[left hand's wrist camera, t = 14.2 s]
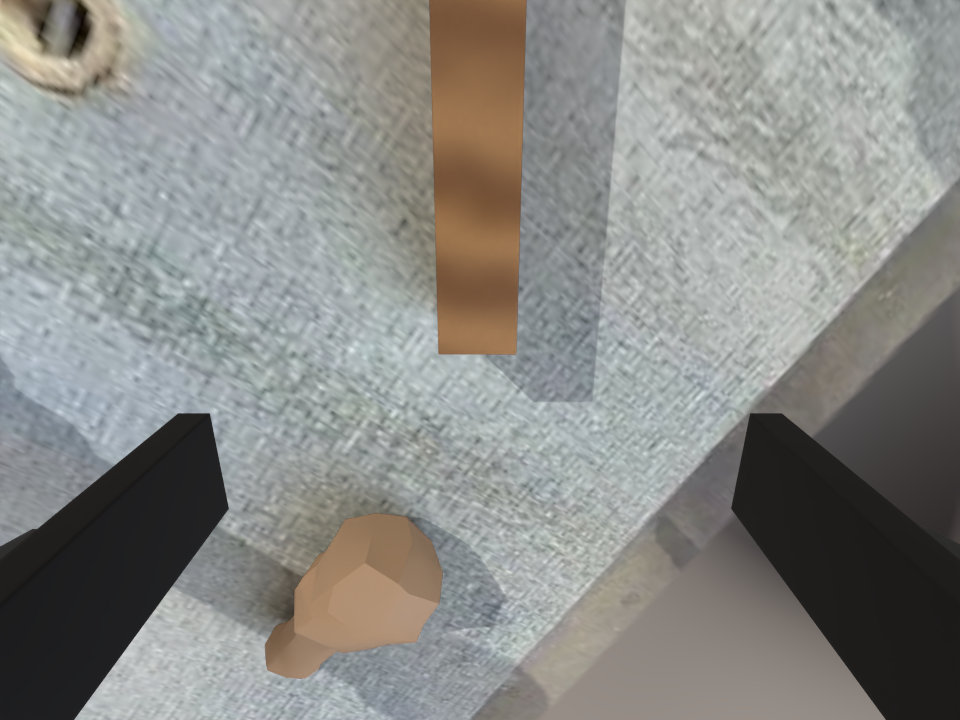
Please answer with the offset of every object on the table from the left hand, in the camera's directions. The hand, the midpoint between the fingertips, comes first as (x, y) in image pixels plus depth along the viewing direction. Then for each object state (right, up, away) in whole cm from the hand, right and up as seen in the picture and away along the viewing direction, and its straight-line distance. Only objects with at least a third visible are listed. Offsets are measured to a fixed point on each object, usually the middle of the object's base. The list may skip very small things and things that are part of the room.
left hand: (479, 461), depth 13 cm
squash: (-11, -17, +35) cm, 41 cm away
